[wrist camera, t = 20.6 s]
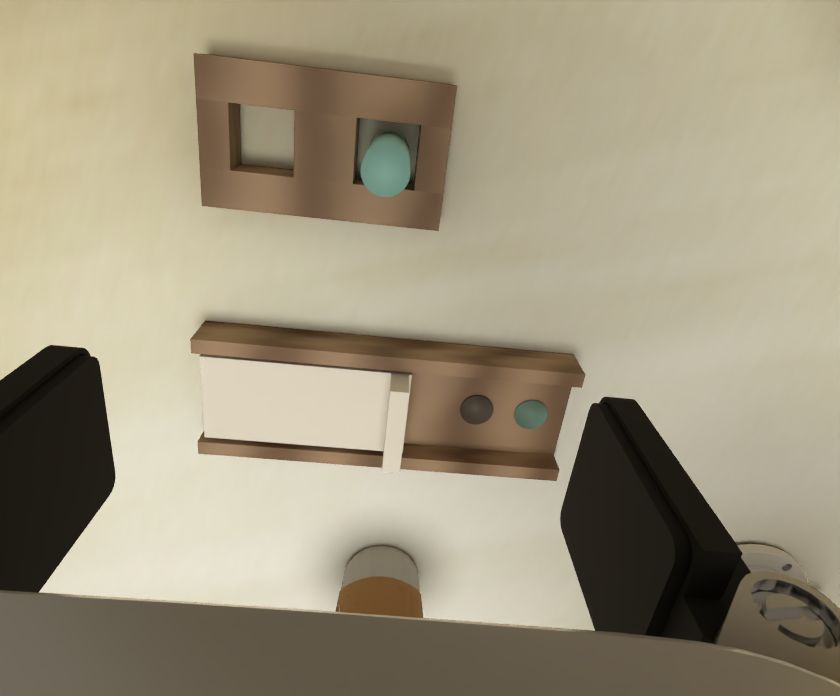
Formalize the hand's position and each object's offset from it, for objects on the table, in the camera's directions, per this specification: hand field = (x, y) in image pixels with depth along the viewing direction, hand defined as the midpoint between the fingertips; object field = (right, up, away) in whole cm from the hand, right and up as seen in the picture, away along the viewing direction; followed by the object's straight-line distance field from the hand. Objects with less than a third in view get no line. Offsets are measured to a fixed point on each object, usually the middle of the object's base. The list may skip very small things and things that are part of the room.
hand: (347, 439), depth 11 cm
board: (-1, -2, +31) cm, 31 cm away
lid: (-6, -2, +29) cm, 29 cm away
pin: (0, +14, +23) cm, 27 cm away
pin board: (-4, +14, +23) cm, 27 cm away
